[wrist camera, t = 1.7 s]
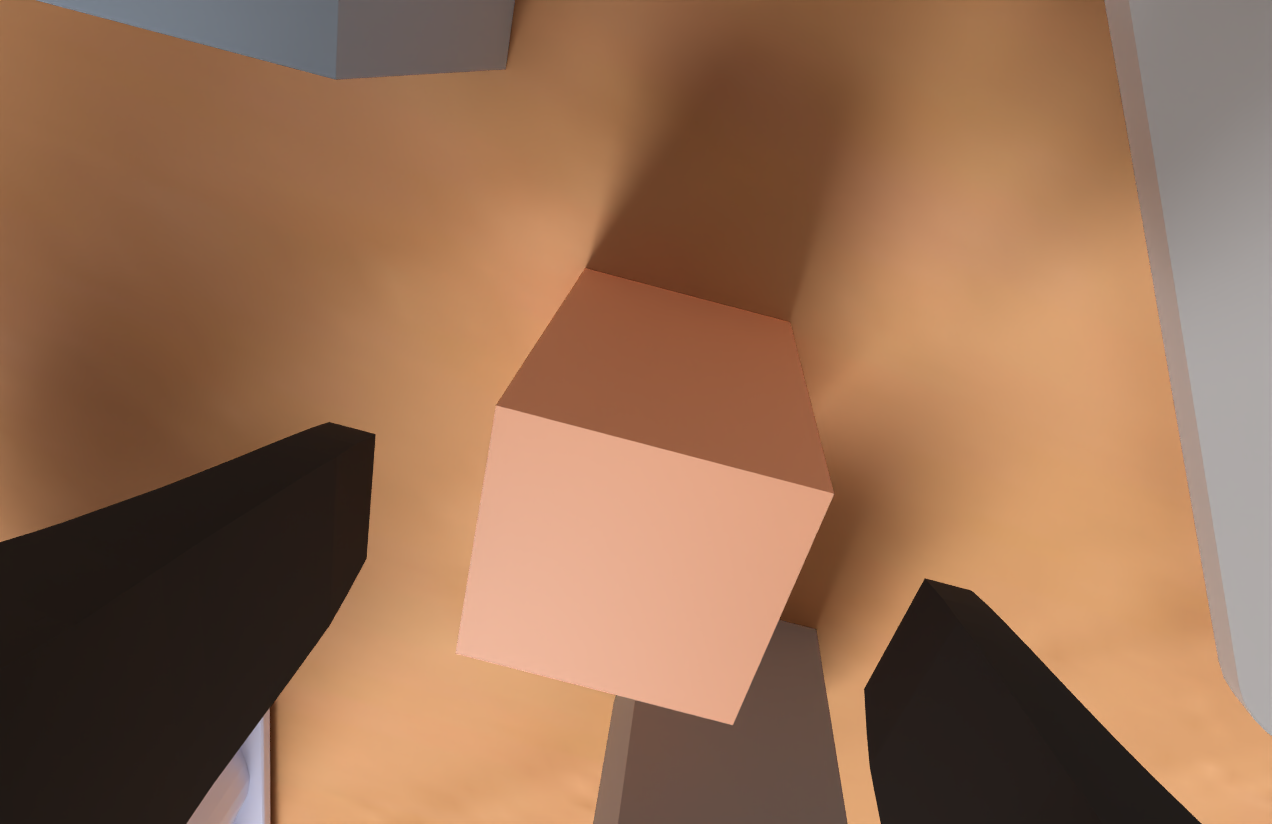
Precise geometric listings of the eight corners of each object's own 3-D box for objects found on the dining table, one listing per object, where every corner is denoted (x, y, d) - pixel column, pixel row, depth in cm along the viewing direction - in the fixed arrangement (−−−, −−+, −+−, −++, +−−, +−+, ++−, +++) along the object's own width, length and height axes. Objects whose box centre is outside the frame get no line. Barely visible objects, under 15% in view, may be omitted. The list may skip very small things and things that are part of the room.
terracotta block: (729, 492, 15) (732, 724, 10) (548, 446, 15) (455, 653, 10) (790, 321, 14) (833, 493, 8) (585, 267, 14) (495, 404, 8)
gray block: (762, 740, 19) (778, 1015, 13) (613, 702, 19) (569, 962, 13) (815, 628, 17) (859, 896, 11) (650, 585, 17) (616, 834, 11)
